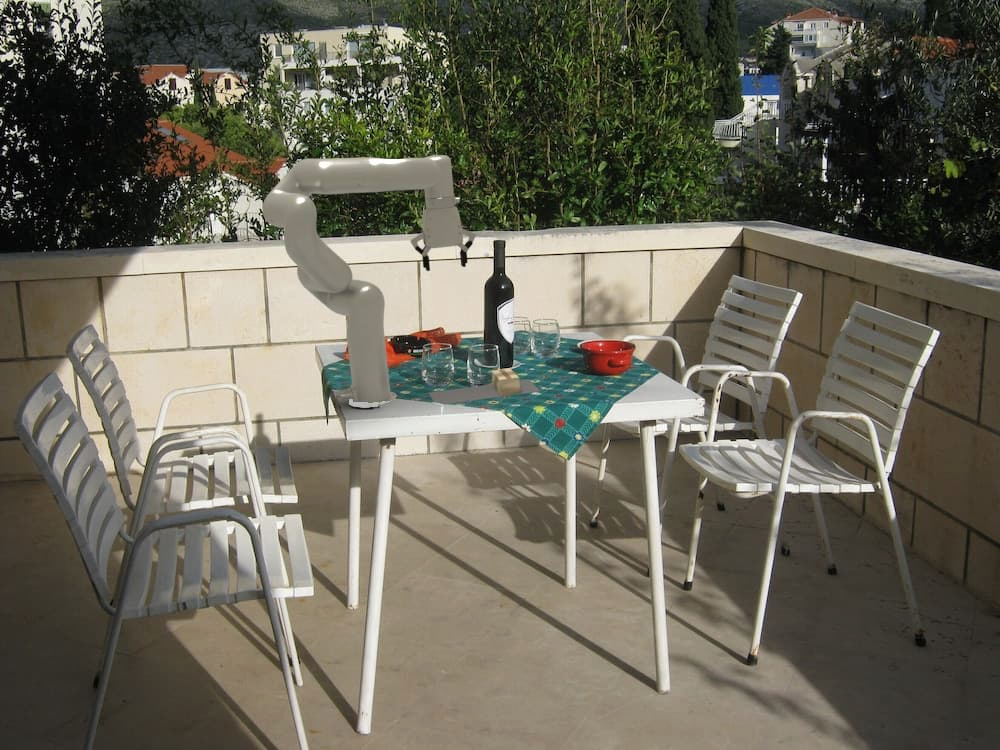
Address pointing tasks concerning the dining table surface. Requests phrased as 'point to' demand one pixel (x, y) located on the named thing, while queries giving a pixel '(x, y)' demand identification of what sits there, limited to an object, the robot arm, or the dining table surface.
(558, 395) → the dining table surface
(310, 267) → the robot arm
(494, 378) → the birch tile
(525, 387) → the rubber mat
